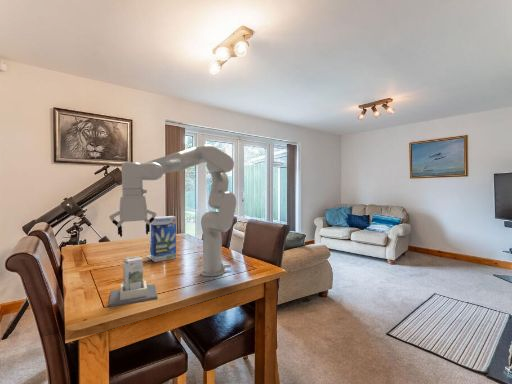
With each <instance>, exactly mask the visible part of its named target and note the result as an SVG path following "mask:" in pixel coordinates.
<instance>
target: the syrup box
mask: <svg viewBox="0 0 512 384" xmlns="http://www.w3.org/2000/svg"><path fill="white" fill-rule="evenodd" d="M143 262H144V259H143V258H142V257H140V256H137V255H136V256H130V257H125V258H123V262H122V263H123V264H122V265H123V284H124V291H127V290H134V289H140V288H143V281H144V279H143V277H144V276H143V274H144V272H143V266H144V265H143V264H144V263H143Z"/></svg>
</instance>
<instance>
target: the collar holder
mask: <svg viewBox="0 0 512 384" xmlns="http://www.w3.org/2000/svg"><path fill="white" fill-rule="evenodd" d="M157 298H158V293H157V288H156V284H148V285H147V280H145V279H144V280H143V288H140V289H134V290H127V291H124V283H120V288H119V289H114V290H113V289H112V290H111V291H110V296H109V302H108V307H109V308H111V307H117V306H124V305H128V304H129V305H130V304H134V303H141V302H145V301H146V300H147V301H152V300H151V299H153V300H157ZM158 299H159V298H158Z"/></svg>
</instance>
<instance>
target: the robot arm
mask: <svg viewBox="0 0 512 384" xmlns="http://www.w3.org/2000/svg"><path fill="white" fill-rule="evenodd" d="M203 163H204V164H206V165H205V166H206V169H207V170H208V172H209V174H210V176H211V179H212V182H211V183H212V184H211V186H210V187H211V189H210V193H209V197H208V202H207V203H208V206H209V207H210V208H211V209H213V210H218V211H210V210H209V211H207V212H204V213H203V215H202V216H201V219H200V225H201V232H202V268H201V269H200V270H199V273H200V275H201V276H204V277H219V276H221V275H224V274H225V272H226V268H227V269H228V268H232V267H231V266H232V264H231V263H227V262H225V263H223V261H222V260H223V259H222V258H223V256H222V255H223V251H222V250H223V249H222V248H223V246H222V244H223V241H222V240H223V237H222V233H227V232H228V231H229V230H230V229H231V227H232V226H233V222H234V217H235V214H236V213H235V212H236V208H237V198H236V196H235V194H234V193H233V192H231V191H229V190H228V189H229V183H230V181H229V178H228V174H227V173H229V172H231V171H232V170H233V169H234V167H235V162H234V160H233V158H232V156H230V155H229V154H227V153H226V152H224V151H223V150H221V149H219V148H217V147H216V146H214V145H212V144H207V143H206V144H201V145H196V146H192V147H189V148H186V149H183V150H179V151H176V152H174V153H171V154H170V153H169V154H168V155H165V156H161V157H158V158H155V159H152V160H149V161H145V162H136V161H135V162H134V161H133V162H132V161H129V162H128V161H127V162H123V163H122V164H121V186H122V187H121V188H122V189H121V191H122V196H120V199H119V211H116V212H114V213H113V214H111V215H109V216H108V217H109V220H110V221H111V223H112V224H113V225H115V226H116V227H117V235H119V238H122V237H123V226H122V225H123V223H124V222H125V223H127V222H142V221H144V222H145V234H146V235H149V233H151V222H152V221H153V220H154V218H155V217H157V212H155V211H152V210H150V209H148V208H147V207H148V205H147V199H146V196H145V195H144V194H147V193H148V191H147V189H144V188H143V186H144V183H143V182H144V181H157V180H160V179H161V178H162V177H163V175H164V174H169V173H175V172H181V171H184V170H188V169H189V168H192V167H194V166H197V165H200V164H203ZM148 214H149V215H151V217H150V218H149V219H148ZM118 216H119V221H117V220H116V219H115V218H116V217H118Z"/></svg>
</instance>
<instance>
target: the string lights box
mask: <svg viewBox="0 0 512 384" xmlns="http://www.w3.org/2000/svg"><path fill="white" fill-rule="evenodd" d="M174 259H177V217H176V216H174V215H169V216H166V215H165V216H155V218H154V220H153V221H152V222H151V223H150V260H152V261H153V262H155V263H157V262H163V261H169V260H174Z"/></svg>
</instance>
